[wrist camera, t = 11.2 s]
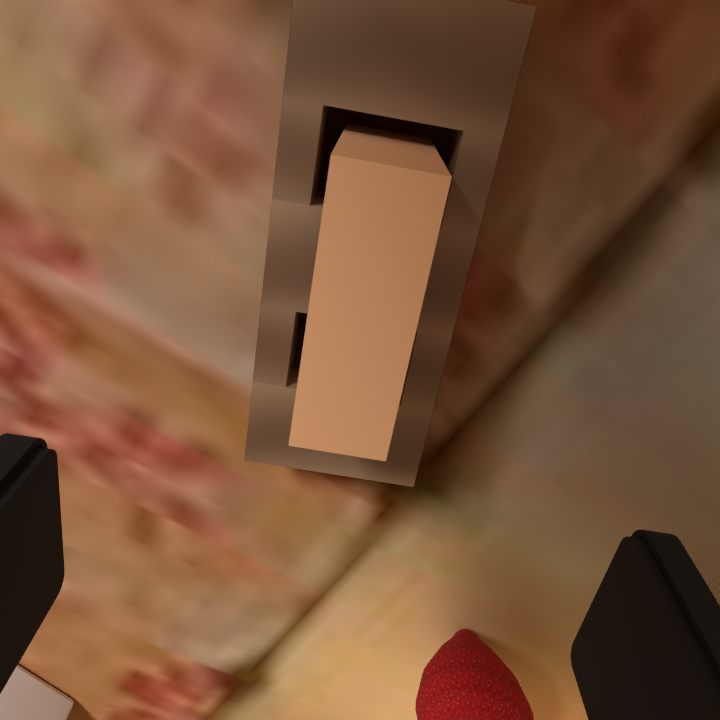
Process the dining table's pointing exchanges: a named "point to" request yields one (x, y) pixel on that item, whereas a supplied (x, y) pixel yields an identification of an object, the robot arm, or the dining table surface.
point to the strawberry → (469, 684)
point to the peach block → (367, 289)
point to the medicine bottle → (32, 699)
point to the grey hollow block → (305, 200)
